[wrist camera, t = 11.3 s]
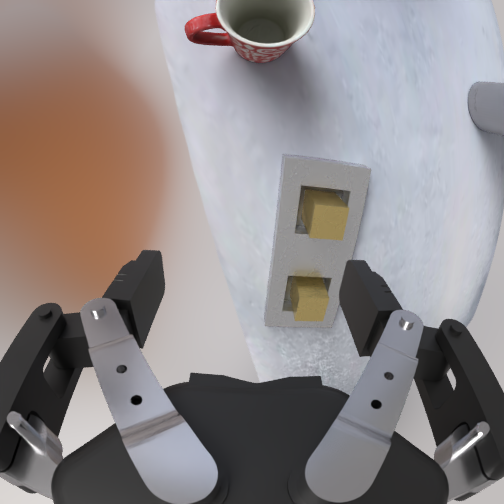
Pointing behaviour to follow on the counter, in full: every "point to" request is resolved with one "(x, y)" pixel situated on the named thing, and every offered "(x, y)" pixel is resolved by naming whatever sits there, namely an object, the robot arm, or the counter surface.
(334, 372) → the counter surface
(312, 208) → the seated brass block
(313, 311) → the brass block
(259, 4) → the mug
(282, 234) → the white socket board
